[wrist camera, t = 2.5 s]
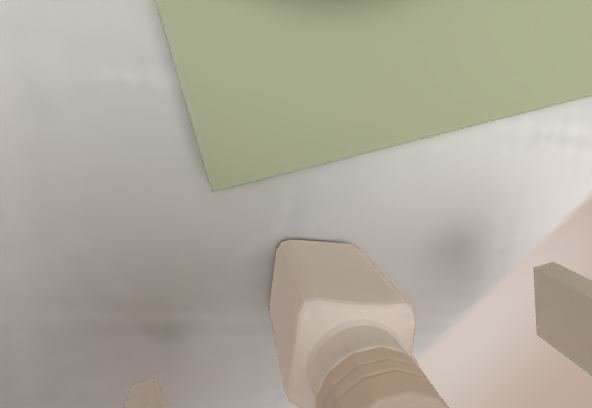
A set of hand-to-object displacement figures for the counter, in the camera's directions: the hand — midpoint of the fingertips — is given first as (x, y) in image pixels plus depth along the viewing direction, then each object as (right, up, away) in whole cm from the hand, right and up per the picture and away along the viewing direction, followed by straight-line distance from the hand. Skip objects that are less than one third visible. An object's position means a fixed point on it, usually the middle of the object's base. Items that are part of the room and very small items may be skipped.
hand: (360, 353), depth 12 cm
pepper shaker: (-1, +2, +6) cm, 6 cm away
